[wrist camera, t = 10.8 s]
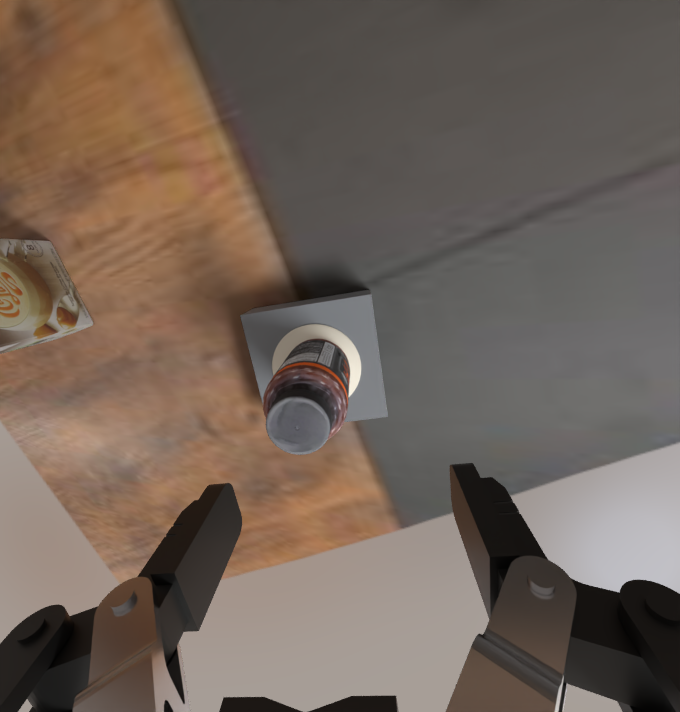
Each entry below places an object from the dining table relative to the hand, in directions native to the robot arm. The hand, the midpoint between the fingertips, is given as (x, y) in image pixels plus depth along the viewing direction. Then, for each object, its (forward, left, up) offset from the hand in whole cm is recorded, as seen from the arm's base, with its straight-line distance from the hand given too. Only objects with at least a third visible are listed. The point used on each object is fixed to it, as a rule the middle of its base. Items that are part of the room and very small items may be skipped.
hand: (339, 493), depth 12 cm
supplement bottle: (+1, -3, -19) cm, 19 cm away
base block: (+1, -3, -23) cm, 23 cm away
